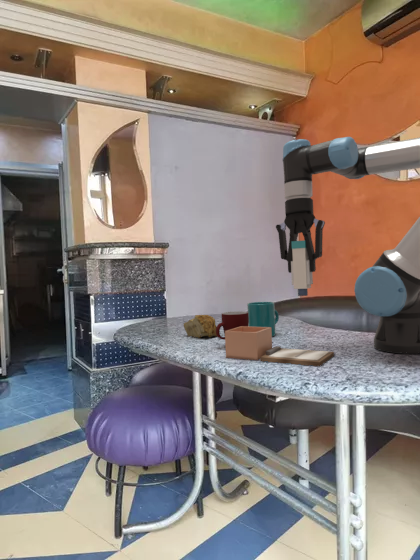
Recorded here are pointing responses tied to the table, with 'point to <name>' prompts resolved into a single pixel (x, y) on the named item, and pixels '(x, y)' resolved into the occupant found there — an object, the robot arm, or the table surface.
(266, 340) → the pen pot
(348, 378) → the table surface
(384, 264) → the robot arm
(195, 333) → the rock
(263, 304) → the cup
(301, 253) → the marker
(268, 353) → the open book
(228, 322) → the mug
